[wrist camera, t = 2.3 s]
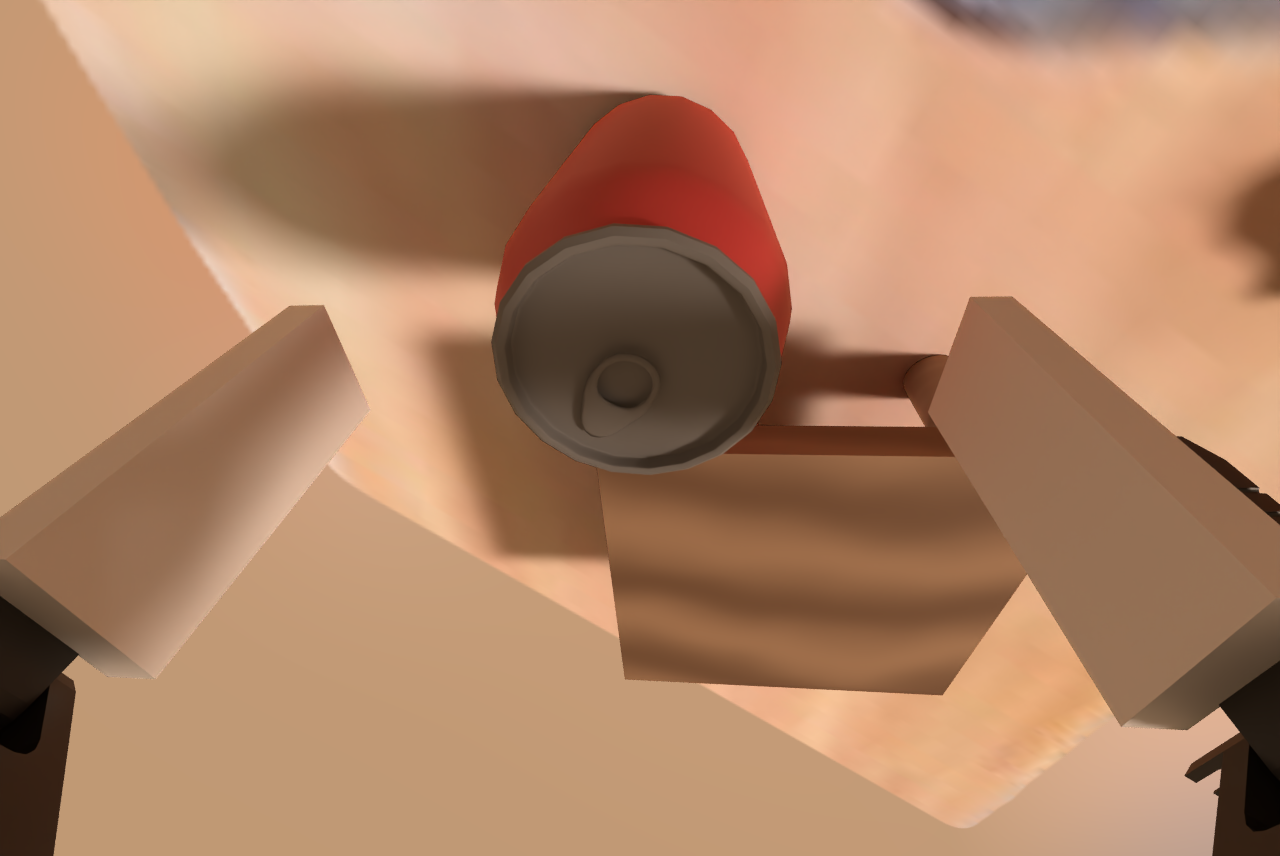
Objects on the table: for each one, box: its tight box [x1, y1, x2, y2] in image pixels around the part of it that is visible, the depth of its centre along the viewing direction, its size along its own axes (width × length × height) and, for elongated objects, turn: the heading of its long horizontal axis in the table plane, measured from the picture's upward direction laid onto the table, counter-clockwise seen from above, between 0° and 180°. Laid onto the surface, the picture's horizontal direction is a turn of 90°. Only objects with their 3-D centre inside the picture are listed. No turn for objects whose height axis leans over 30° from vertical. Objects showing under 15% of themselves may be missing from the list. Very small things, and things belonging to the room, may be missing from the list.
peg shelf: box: [597, 355, 1027, 695], centre depth 25 cm, size 16×16×8 cm
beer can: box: [491, 95, 792, 475], centre depth 15 cm, size 7×7×12 cm
